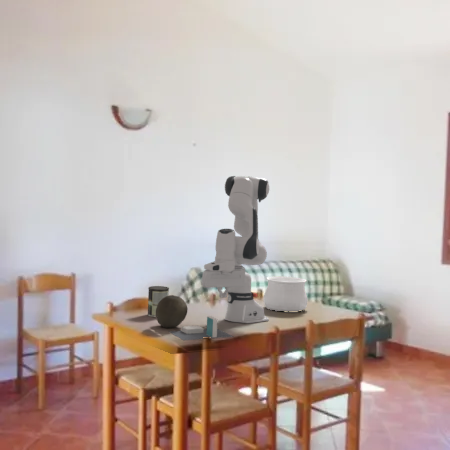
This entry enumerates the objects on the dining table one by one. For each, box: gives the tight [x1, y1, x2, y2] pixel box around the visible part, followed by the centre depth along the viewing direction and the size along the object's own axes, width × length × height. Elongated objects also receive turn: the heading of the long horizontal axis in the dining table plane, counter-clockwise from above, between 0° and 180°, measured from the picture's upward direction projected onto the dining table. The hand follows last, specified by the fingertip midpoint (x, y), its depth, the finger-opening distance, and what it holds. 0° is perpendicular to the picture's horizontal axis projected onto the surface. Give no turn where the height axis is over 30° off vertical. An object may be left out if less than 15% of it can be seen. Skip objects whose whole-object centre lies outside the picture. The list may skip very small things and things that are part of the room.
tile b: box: [206, 315, 218, 337], centre depth 277 cm, size 2×6×8 cm, turn 28°
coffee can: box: [147, 285, 170, 318], centre depth 320 cm, size 10×10×14 cm
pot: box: [263, 275, 308, 312], centre depth 353 cm, size 26×24×17 cm
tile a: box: [180, 325, 204, 334], centre depth 283 cm, size 2×6×8 cm
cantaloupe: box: [155, 294, 189, 329], centre depth 292 cm, size 14×14×15 cm
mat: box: [168, 328, 234, 341], centre depth 280 cm, size 24×17×1 cm
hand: (223, 297), depth 278 cm, fingers closed
